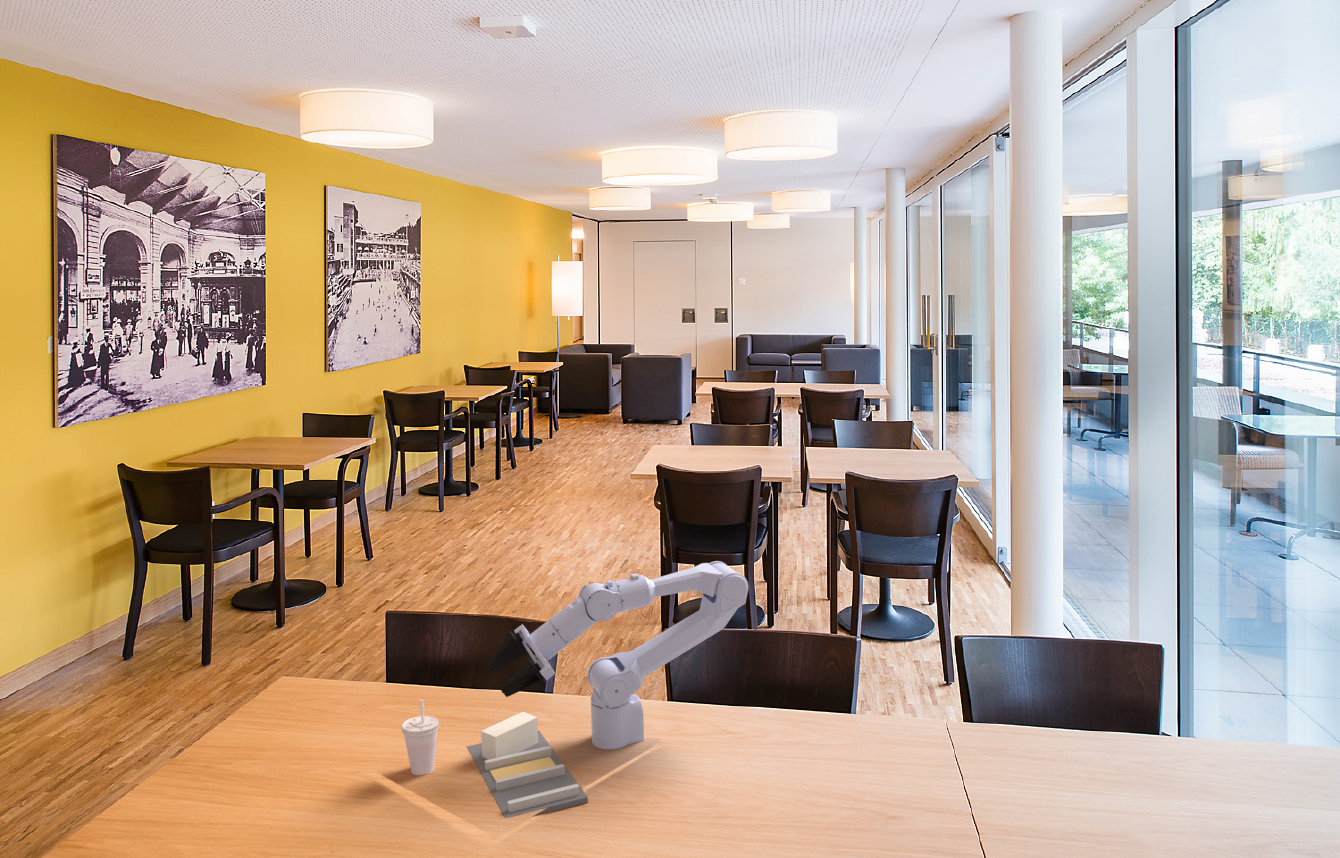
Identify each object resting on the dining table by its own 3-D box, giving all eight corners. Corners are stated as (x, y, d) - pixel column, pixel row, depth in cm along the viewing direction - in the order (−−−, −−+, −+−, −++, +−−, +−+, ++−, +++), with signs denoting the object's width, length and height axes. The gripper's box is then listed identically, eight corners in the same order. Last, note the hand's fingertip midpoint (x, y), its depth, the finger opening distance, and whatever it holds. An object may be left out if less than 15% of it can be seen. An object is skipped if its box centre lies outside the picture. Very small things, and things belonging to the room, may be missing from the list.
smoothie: (431, 785, 158) (427, 709, 156) (397, 782, 159) (393, 706, 157) (447, 767, 164) (443, 693, 162) (414, 764, 165) (410, 691, 164)
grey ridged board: (539, 735, 176) (538, 723, 176) (587, 802, 152) (587, 788, 151) (467, 751, 170) (466, 738, 170) (505, 824, 146) (505, 809, 145)
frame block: (523, 736, 173) (522, 711, 173) (538, 742, 171) (537, 717, 170) (482, 756, 166) (481, 730, 165) (496, 763, 163) (495, 737, 163)
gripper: (533, 599, 169) (473, 645, 166) (562, 640, 157) (497, 691, 155) (551, 622, 173) (492, 668, 170) (581, 664, 161) (518, 714, 158)
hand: (496, 680), depth 163 cm, fingers open, 7 cm apart
